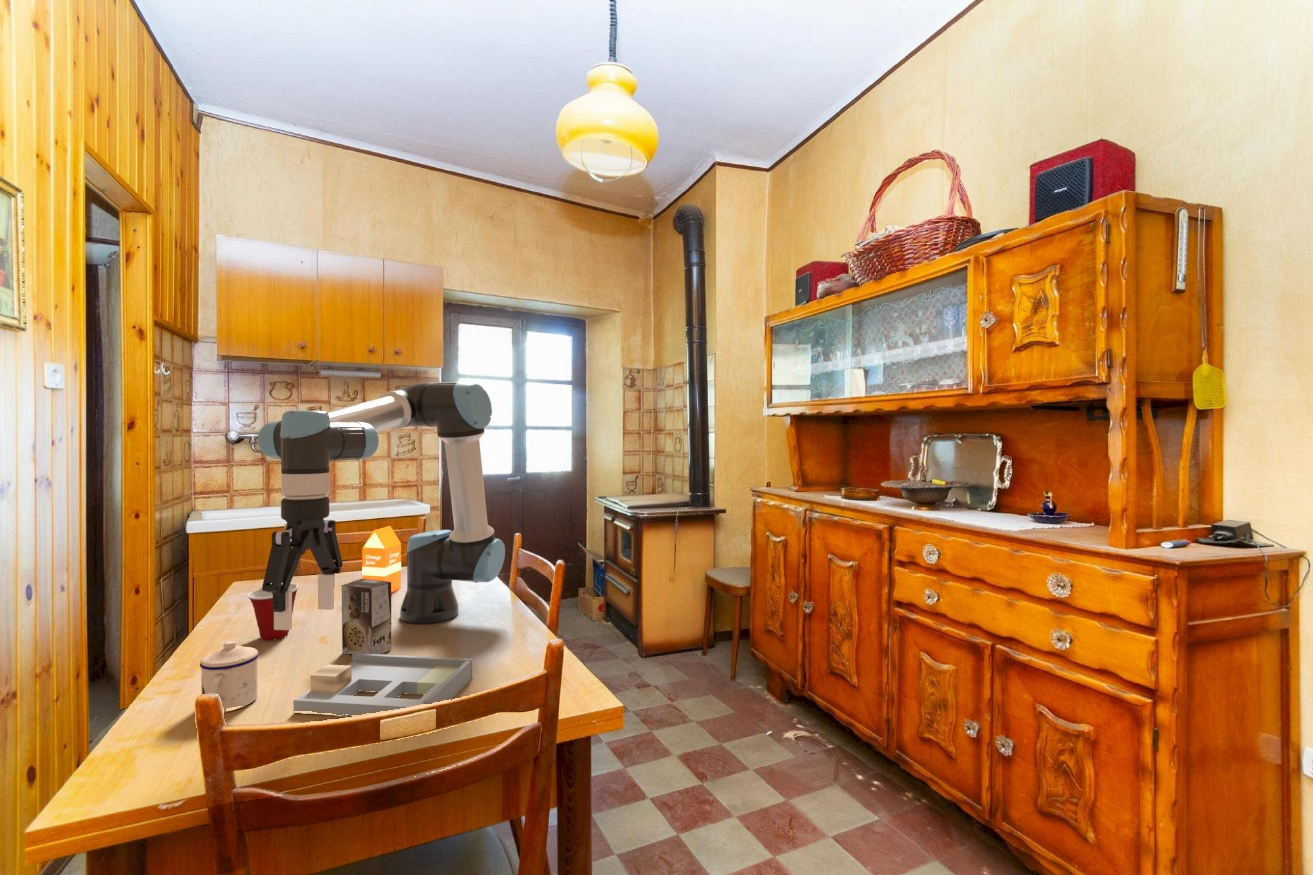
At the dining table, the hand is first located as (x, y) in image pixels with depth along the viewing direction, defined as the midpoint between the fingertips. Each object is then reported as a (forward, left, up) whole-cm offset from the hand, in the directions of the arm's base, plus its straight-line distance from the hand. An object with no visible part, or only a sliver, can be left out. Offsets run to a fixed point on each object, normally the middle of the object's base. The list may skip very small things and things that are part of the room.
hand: (305, 618), depth 108 cm
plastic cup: (-37, -35, -18) cm, 54 cm away
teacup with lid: (-2, -17, -18) cm, 25 cm away
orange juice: (-79, -31, -18) cm, 87 cm away
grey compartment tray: (-10, +9, -18) cm, 23 cm away
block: (-8, 0, -15) cm, 17 cm away
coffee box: (-31, -7, -18) cm, 37 cm away
